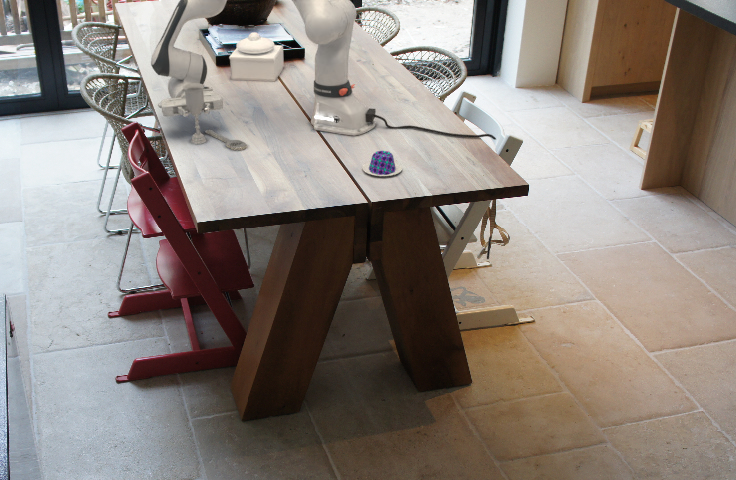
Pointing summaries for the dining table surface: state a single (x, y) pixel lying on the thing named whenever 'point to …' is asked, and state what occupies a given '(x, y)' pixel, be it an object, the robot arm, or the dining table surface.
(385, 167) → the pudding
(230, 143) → the spoon
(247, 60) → the white square lidded jar
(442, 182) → the dining table surface
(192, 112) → the chalice
